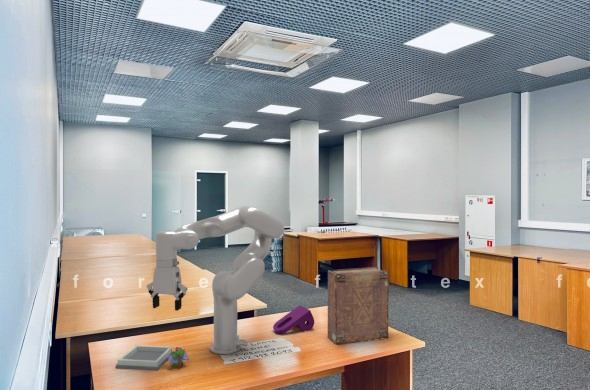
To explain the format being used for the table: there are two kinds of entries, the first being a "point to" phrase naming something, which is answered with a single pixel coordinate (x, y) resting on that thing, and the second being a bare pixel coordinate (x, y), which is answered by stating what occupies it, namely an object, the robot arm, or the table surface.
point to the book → (357, 304)
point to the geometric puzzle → (178, 357)
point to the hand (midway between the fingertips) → (167, 308)
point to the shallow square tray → (145, 357)
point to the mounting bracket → (295, 320)
